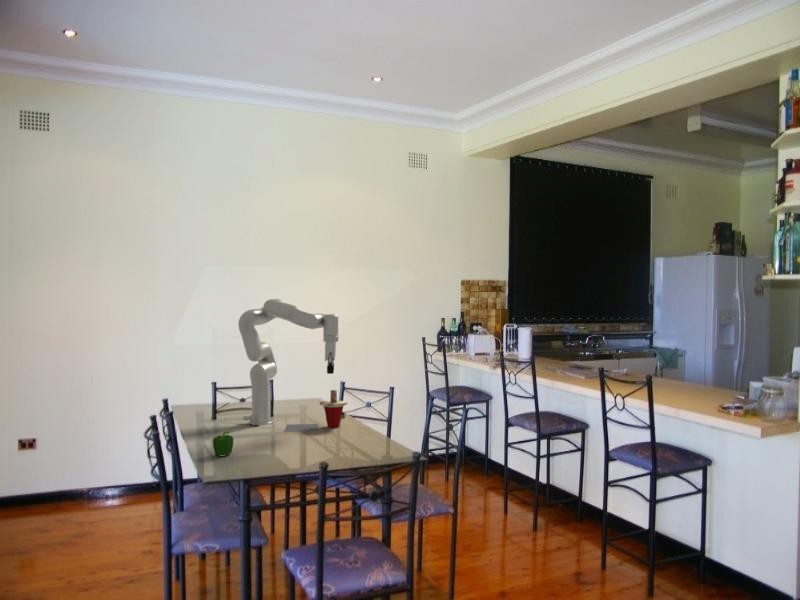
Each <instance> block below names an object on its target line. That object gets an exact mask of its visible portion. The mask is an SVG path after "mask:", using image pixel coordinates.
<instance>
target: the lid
mask: <svg viewBox="0 0 800 600" xmlns="http://www.w3.org/2000/svg"><path fill="white" fill-rule="evenodd" d="M319 405H320V406H323V405H324V406H342V405H344V406H346V405H348V401H346V400H338V389H331V390H330V400H325V401H320V402H319ZM324 406H323V407H324Z"/></svg>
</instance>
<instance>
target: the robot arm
mask: <svg viewBox="0 0 800 600" xmlns="http://www.w3.org/2000/svg"><path fill="white" fill-rule="evenodd" d="M277 318H278V319H280V320H281V319H282V320H284V321H286V322H287V321H288V322H290V323H292V324H294V325H296V326H299V327H303V328H306V329H309V330H315V329H321V328H323V330H322V331H323V334H322V335H323V339H322V340H323V342H324V361H325V362H327V365H326V374H329V375H331V374H334V373H335V363H334V362H335V360H336V353H337V349H336V348H337V343H338V342H339V315H337V314H336V313H335V314H334V313H333V314H331V313H328V314H327V313H326V314H324V313H309V312H306V311H302V310H300V309H298V308H297V306H296V305H294V304H289V303H287V302H284V300H282V299H280V298H272V299H267V300H266V301H265V302H264V304H263V306H262V307H261V308H254V309H252V308H251V309H248V310H246V311H244V312H243V313H242V314H241V315H240V317H239V319H238V323H237V324H238V329H239V334H240V336H241V339H242V343H243V346H244V347H243V348H244V349H245V350H244V351H245V353H246V356H247V358H248V360H249V361H251V362H258V363H256V364H254V365H253V366H252V367H251V369H250V371H249V378H250V379H249V380H250V384H251V414H249V415H243V416H242V419H243V420H245V421H248V425H250V424H252V425H251V426H254V425H259V426H264V425H270V424H273V423H274V422H275V421H274V420H273V419H271V385H270V381H269V380H270V379H273V378H274V377H275V376H276V375H277V373H278V366H277V362H276V359H275V356H274V353H273V350H272V348H271V345H270V344H269V343H267V342H265V341H261V339H260V336H259V333H258V331H257V330H256V329H257V328H255V327H256V326H260V325H265V324H267V323H270V322H271V321H273V320H274V319H277Z"/></svg>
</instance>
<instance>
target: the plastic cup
mask: <svg viewBox="0 0 800 600" xmlns="http://www.w3.org/2000/svg"><path fill="white" fill-rule="evenodd" d="M322 407H323V408H324V409H323V410H324V413H325V419H326V420H325V421H326V425H327V428H329V429H338V428H340V427H341V426H340V425H341V420H342V413H343V409H344V407H345V405H342V406H324V405H322Z"/></svg>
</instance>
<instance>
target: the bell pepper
mask: <svg viewBox="0 0 800 600" xmlns="http://www.w3.org/2000/svg"><path fill="white" fill-rule="evenodd" d="M229 434H230V430H229V431H228V430H226V431H224V432H222V435H217V436H215V437H213V439H212V447H213V450H214V454H215V455H216V454H218V455H227V454H228V455H230V454H231V453H232V452H233V451H232V450H233V447H234V437H233V436H232V435H229ZM229 453H230V454H229ZM218 455H217V456H218ZM228 455H227V456H228Z"/></svg>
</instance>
